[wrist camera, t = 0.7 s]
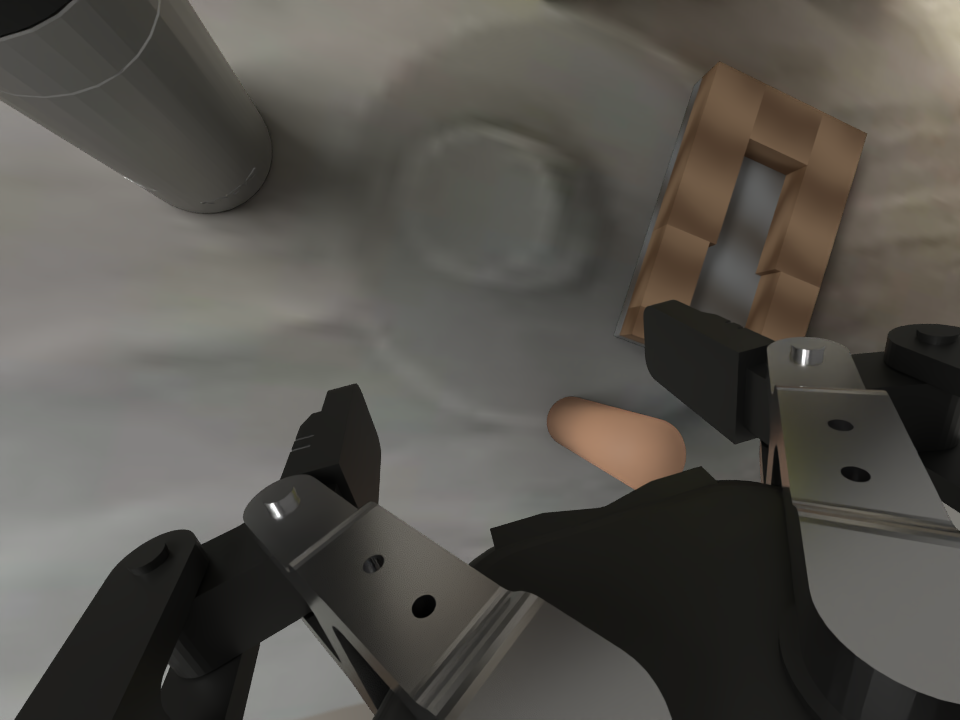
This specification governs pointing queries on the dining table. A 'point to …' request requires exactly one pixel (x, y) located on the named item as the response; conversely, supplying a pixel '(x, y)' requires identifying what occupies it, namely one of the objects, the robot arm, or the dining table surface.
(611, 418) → the peg
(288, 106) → the dining table surface
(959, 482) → the robot arm
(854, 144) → the keyhole block
